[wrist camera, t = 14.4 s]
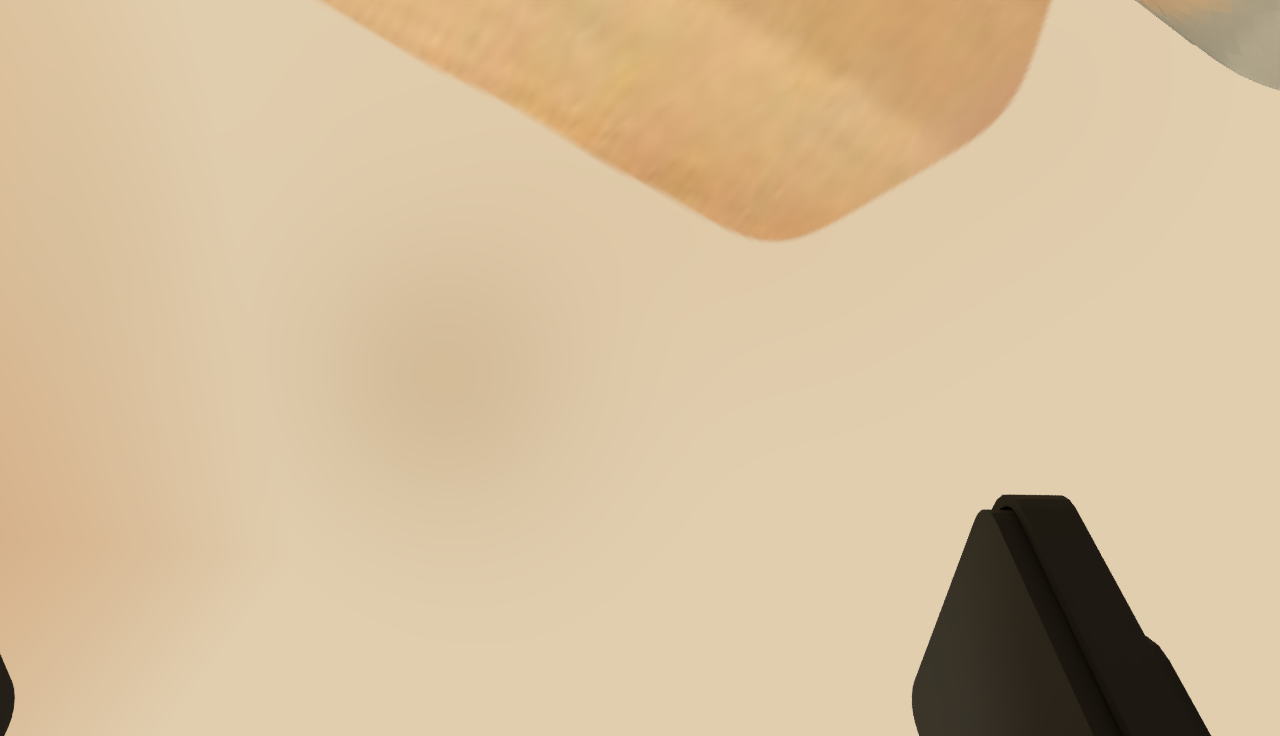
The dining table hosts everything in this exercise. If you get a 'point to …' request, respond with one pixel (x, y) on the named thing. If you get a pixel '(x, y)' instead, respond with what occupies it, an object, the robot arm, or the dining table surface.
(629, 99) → the dining table surface
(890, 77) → the dining table surface
